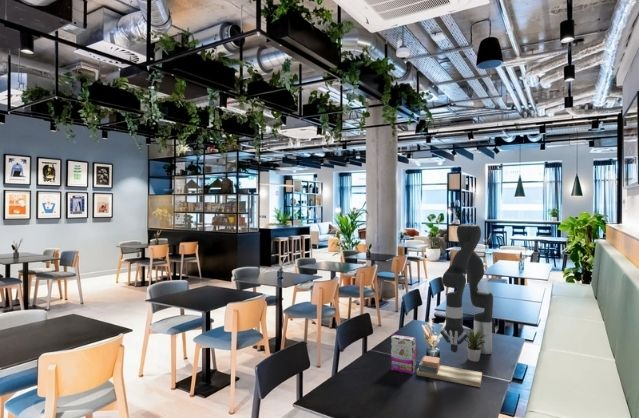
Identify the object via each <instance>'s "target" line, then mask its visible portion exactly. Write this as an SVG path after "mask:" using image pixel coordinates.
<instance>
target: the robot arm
mask: <svg viewBox="0 0 639 418" xmlns="http://www.w3.org/2000/svg"><path fill="white" fill-rule="evenodd" d="M456 237H457V240H458V241H457V242H458V243H459V247H460V249H459V250H458V251H457V252H456V253H455V254H454V256H453V259H452V261H451V264H450V265H449V267H448V268H447V269H446V270H445V272H444V273H443V275H442V277H441V278H442V279H441V281H442V282H441V283H442V285H443V287H446V288H451V289H456V291H451V292H448V293H446V296H445V297H446V298H445V299H446V300H445V303H446V304H445V326H444V328H443V329H441V330H440V331H439V333H440V334H441V336H442V338H444V340H445V342H446V343H449V344H450V351H451V352H452V353H457V352H458V346H459V345H462V343H464V342H465V339H466V340H467V338H468V335H469V332H466V331H465V329H464V326H463V322H464V319H463V317H464V316H463V315H464V314H463V313H464V312H463V294H464V291H465V287H466V284H467V282H468V286H469V287H468V288H469V296H470V302H471V305H472V306H473V307H475V308H481V309H483V311H482V312H481V311H480V312H476V313H474V315H473V331H474V337H475V335H476V333H477V332H478V330H479V332H480V331H482V332H481V334H480V337H481V336H482V335H484V338H481V339H478V341H479V340H483V341H485V340H487V341H485V343H482V344H484V346H483V345H482V344H481V345H479V346H478V347H480V348H481V353H480V355H481V354H482V355H490V354H492V350H493V349H492V348H493V345H492V344H493V341H492V339H493V309H494V307H493V306H494V295H493V293H492V292H490V291H486V290H479V288H478V287H479V286H478V285H479V284H480V281H482V279H483V277H484V275H485V266H484V262H483V260H482V258H481V257H480V255H478V254H477V253H476V252H475V250H476V248H477V246H478V245H479V242H480V241H481V237H482V229H481V227H480V225H478V224H459V225H458V226H457V229H456ZM464 273H466V276H465V274H464ZM466 277H467V278H466ZM485 334H488V335H485ZM461 335H462V336H461ZM459 337H461V338H460V339H459ZM482 337H483V336H482ZM480 342H482V341H480ZM480 342H478V343H480ZM478 343H477V344H478Z"/></svg>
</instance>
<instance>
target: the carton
mask: <svg viewBox="0 0 639 418" xmlns="http://www.w3.org/2000/svg"><path fill="white" fill-rule="evenodd" d="M424 356H425V357H424ZM424 356H423V357H424V359H423V365H429V366H434V367H437V373H438V371H439V368H440V365H441V358H440V357H435V356H429V355H424Z"/></svg>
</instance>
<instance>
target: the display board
mask: <svg viewBox="0 0 639 418" xmlns="http://www.w3.org/2000/svg"><path fill="white" fill-rule="evenodd" d="M425 356H426V355H424V356H422V359H421V360H420V362H419V364H418V368H416V376H421V377H426V378H429V379H430V378H431V379H436V380H441V381H445V382H446V381H447V382H451V383H457V384H462V385H466V386H473V387H478V388H481V386H482V385H481V384H482V379H483V372H482V371H475V370H472V369H471V370H470V369H464V368H458V367H453V366H448V365H443V364H442V365H441V364H440V368H439V371H438V373H437V367H434V366H429V365H423V359H424V357H425Z"/></svg>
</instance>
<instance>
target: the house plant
mask: <svg viewBox="0 0 639 418" xmlns="http://www.w3.org/2000/svg"><path fill="white" fill-rule="evenodd" d="M481 332H482V331H480V332H479V330H478V332H477V333H476V335H475V337H474V327H473V328H471V329H470V328H468V337H467V338H468V340H467V338H466V339H465V340H464V342H465V341H466V342H467V343H468V345H467V346H466V351H467V357H468V360H469V361H471V362H475V363H476V362H479V361H480V357H481V354H480V353H481V348H480V347H478V346H479V345H481V344H482V343H485V341H487V340H485V341H483V340H479V341H478V339H481V338H484V335H482V336H483V337H482V336H481V337H480V334H481ZM485 335H488V334H485ZM480 341H482V342H480ZM478 342H480V343H478ZM477 343H478V344H477ZM482 345H483V346H484V344H482Z"/></svg>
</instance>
